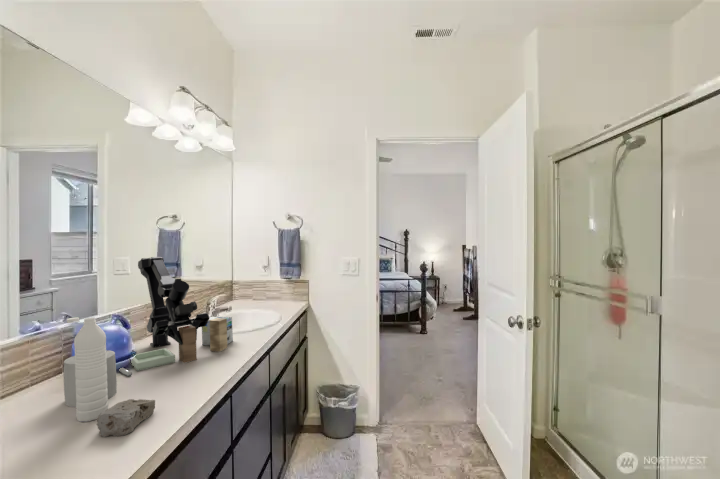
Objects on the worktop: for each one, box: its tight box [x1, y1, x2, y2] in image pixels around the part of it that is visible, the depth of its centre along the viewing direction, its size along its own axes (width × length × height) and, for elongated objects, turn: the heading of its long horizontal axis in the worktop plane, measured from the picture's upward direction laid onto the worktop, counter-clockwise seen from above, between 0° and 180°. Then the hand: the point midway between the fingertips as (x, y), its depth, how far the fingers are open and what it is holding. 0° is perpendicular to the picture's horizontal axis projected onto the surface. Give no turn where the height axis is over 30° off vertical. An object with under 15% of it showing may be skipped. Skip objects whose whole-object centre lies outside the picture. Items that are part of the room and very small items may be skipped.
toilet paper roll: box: [63, 349, 118, 408], centre depth 103 cm, size 12×12×12 cm
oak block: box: [209, 318, 228, 352], centre depth 144 cm, size 4×4×12 cm
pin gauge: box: [118, 367, 133, 377], centre depth 120 cm, size 8×1×1 cm, turn 53°
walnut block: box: [177, 325, 198, 364], centre depth 133 cm, size 4×4×12 cm
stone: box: [96, 398, 156, 438], centre depth 88 cm, size 13×6×10 cm
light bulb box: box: [201, 316, 234, 346], centre depth 153 cm, size 11×7×11 cm, turn 84°
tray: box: [130, 347, 176, 372], centre depth 131 cm, size 12×12×2 cm
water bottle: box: [66, 316, 109, 423], centre depth 92 cm, size 9×6×25 cm
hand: (188, 342), depth 132 cm, fingers closed on walnut block, 4 cm apart
